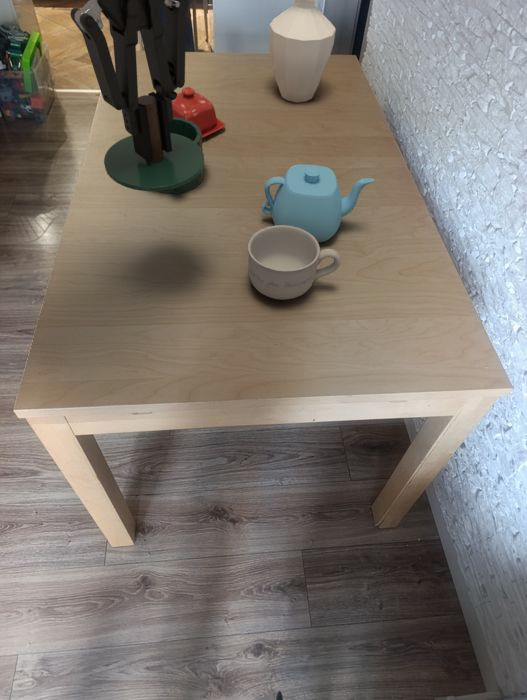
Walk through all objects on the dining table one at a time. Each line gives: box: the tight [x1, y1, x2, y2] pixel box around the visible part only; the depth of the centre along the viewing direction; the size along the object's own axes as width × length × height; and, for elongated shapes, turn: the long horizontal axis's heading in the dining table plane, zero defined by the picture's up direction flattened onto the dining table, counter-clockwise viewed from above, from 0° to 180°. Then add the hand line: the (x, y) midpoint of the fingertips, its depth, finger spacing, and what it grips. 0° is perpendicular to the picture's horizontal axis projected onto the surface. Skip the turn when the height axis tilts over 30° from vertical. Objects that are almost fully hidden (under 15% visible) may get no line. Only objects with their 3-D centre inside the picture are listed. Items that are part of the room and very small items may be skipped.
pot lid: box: [103, 94, 205, 192], centre depth 63 cm, size 13×13×9 cm
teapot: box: [261, 164, 375, 243], centre depth 85 cm, size 13×11×18 cm
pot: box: [156, 117, 205, 195], centre depth 93 cm, size 12×17×8 cm
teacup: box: [247, 225, 342, 300], centre depth 77 cm, size 14×11×8 cm
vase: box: [268, 0, 337, 104], centre depth 109 cm, size 14×14×25 cm
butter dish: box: [172, 86, 226, 139], centre depth 103 cm, size 12×12×8 cm
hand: (153, 151), depth 64 cm, fingers closed on pot lid, 2 cm apart
